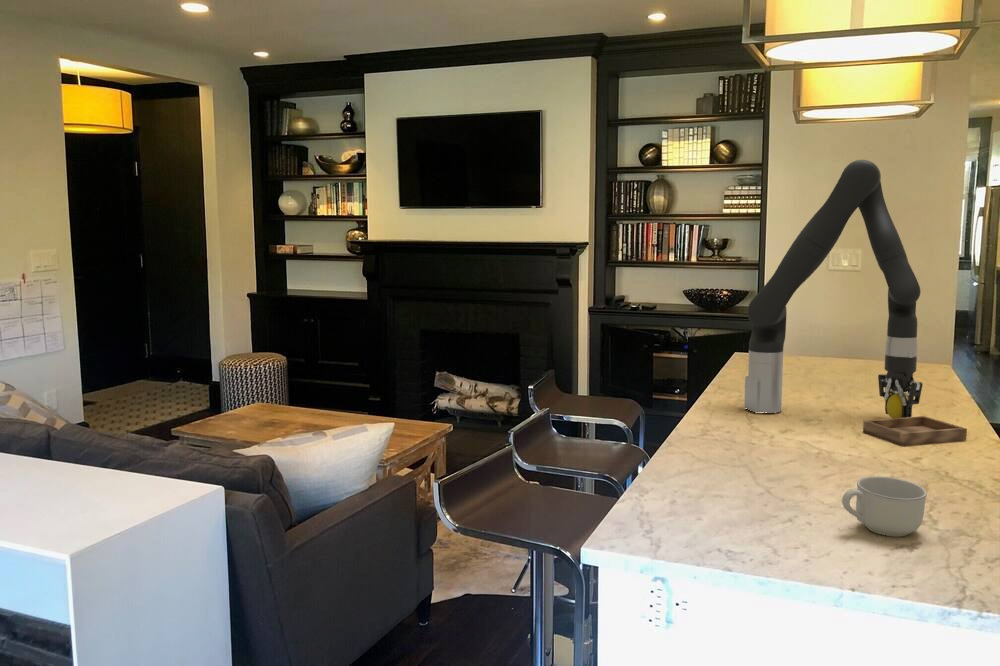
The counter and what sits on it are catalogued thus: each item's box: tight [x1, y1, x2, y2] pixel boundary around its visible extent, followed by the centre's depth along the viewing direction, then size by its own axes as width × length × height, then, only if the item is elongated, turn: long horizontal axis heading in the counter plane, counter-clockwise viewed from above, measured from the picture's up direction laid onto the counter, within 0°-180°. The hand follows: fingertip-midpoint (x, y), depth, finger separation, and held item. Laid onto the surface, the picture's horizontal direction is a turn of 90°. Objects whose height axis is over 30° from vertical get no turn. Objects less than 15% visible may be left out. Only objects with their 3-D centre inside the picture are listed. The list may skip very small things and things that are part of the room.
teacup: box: [841, 475, 928, 538], centre depth 140 cm, size 14×11×8 cm
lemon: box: [887, 393, 908, 419], centre depth 217 cm, size 6×6×8 cm
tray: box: [862, 415, 968, 447], centre depth 202 cm, size 18×14×3 cm
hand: (897, 416), depth 217 cm, fingers closed on lemon, 5 cm apart
